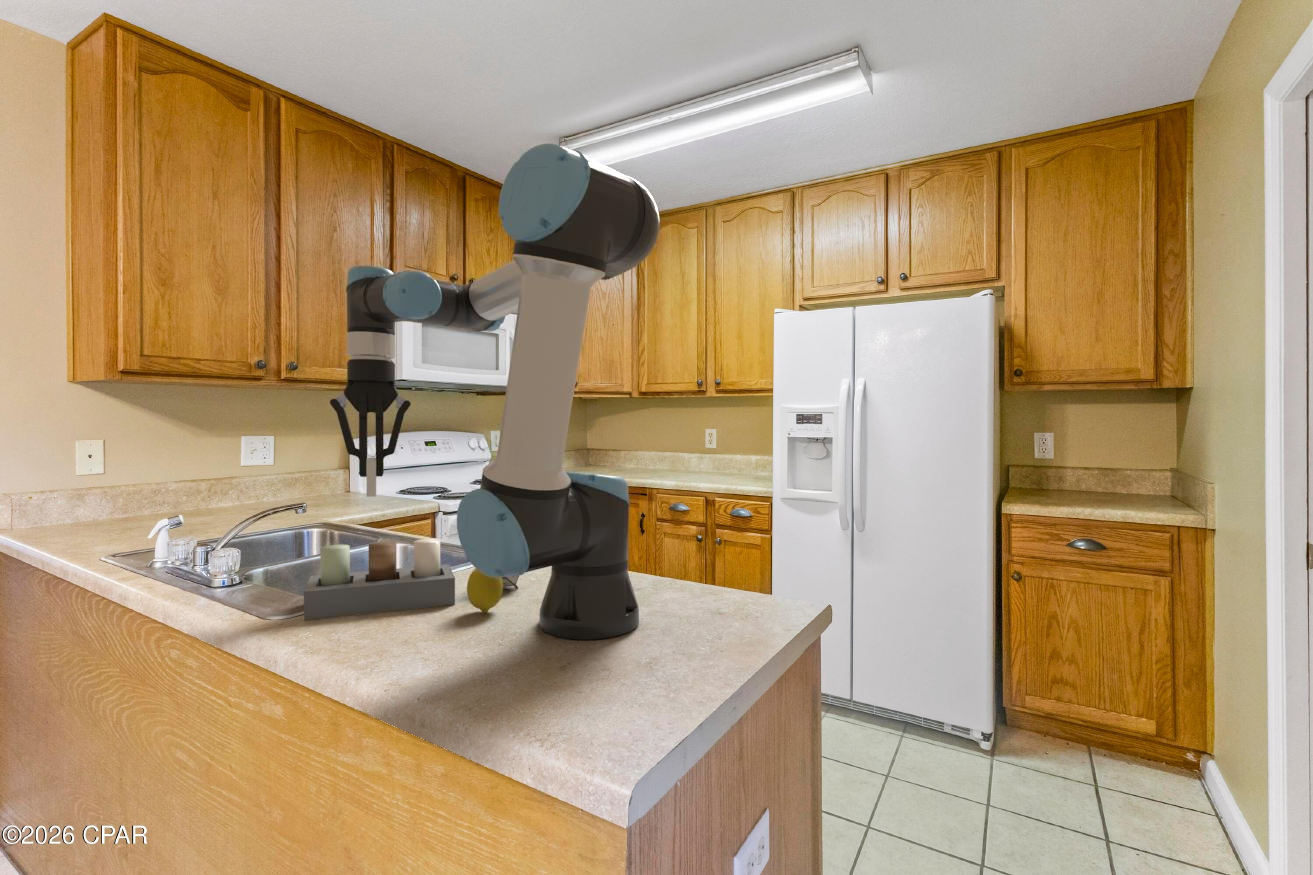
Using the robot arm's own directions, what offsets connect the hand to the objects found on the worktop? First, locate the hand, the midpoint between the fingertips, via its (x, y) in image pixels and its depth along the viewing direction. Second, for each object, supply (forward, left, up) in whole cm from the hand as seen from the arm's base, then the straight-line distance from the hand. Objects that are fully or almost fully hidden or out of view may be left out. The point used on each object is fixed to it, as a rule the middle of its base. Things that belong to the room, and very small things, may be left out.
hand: (371, 495), depth 109 cm
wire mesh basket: (-4, -22, -18) cm, 28 cm away
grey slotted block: (-6, -2, -17) cm, 19 cm away
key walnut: (-6, -2, -14) cm, 16 cm away
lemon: (-17, -17, -18) cm, 30 cm away
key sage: (-6, +5, -14) cm, 17 cm away
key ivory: (-6, -9, -14) cm, 18 cm away
